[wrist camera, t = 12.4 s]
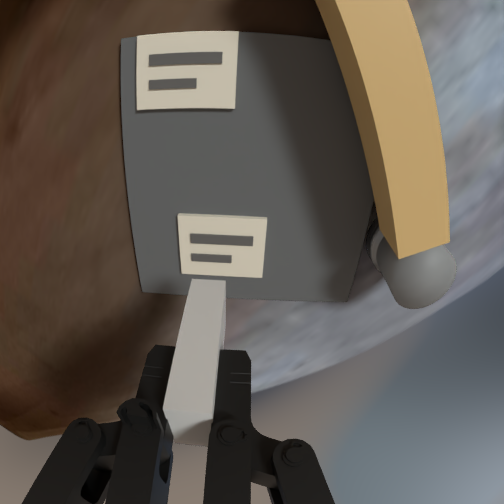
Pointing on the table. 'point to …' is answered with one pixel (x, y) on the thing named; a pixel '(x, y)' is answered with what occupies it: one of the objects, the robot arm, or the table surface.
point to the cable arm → (397, 142)
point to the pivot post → (374, 242)
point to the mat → (254, 171)
